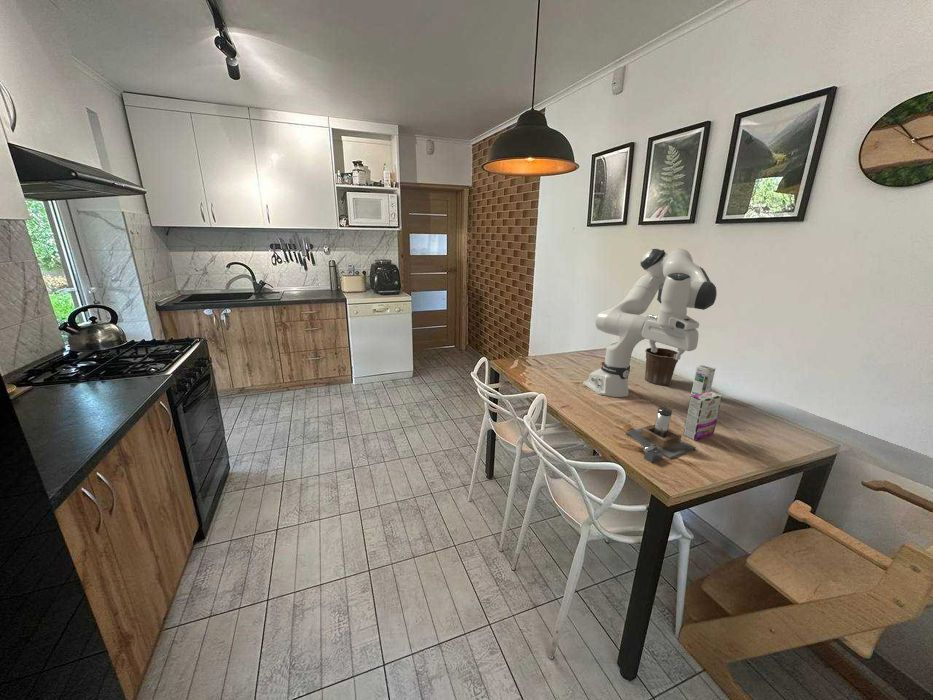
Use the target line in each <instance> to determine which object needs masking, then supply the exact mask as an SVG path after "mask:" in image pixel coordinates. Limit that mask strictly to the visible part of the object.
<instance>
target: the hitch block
mask: <svg viewBox="0 0 933 700" xmlns="http://www.w3.org/2000/svg"><path fill="white" fill-rule="evenodd" d="M654 429H655V424H650V425H647V426H643V427H639V428H636V429H635V430H636V431H637V432H638V433H639V434H640V435H641V436H642V437H643V438H644V439H645V440H646V441H648V442H649V443H650V444H651V445H650V446H652V445H656V446H657V448H658V449H660V450H661V451H663V455H662V457H663V456H664V457H665V458H667V459H668V460H670V459H673V458H675V457H679V456H682V455H684V454H686V453H689V452H693V451H694V450H696V448H697V447H695V446H694V445H692V444H689V443H688V442H686V441H684V440H681V439H682V435H683V434H680V433H678V432H676V431H674V430H672V429H670V428H669V430H668V435H667V437H665V438H662V437H660V436H659V435H657V434H655V433H654ZM625 435H626V436H628V437H630V438H632V439H633V440H634V441H637V440H636V439H635V438H634V437H633V436H632V435H631V434H630V433H628V432H627V431H626V432H625Z"/></svg>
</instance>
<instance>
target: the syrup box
mask: <svg viewBox="0 0 933 700" xmlns="http://www.w3.org/2000/svg"><path fill="white" fill-rule="evenodd" d="M715 373H716V367H712V366H709V365H706V364H701V365H698V366H696V370H695V375H694V379H693V384H692V388H691V392H690V394H691V396H693V395H697V394H701V393H705V392H709V391H710V392H711V390H712V385H713V381H714V378H715Z"/></svg>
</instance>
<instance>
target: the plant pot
mask: <svg viewBox="0 0 933 700" xmlns="http://www.w3.org/2000/svg"><path fill="white" fill-rule="evenodd" d="M657 348H658V350H657V352H655V353H654V352H651V347H648V348H646V349H645V372H644V373H645V375H644V380H645V381H647V382H648V383H650V384H652V383H653V385H658V386H663V385H665V386H668V385H670V384H671V383H672V378H673V375H674V373H675V368H676V366H677V364H678V362H679V360H675V359H673V357H674V354H677V353H678V352H679V351H676V350H673V349H669V348H663V347H657Z"/></svg>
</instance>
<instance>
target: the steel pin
mask: <svg viewBox="0 0 933 700" xmlns="http://www.w3.org/2000/svg"><path fill="white" fill-rule="evenodd" d="M672 413H673V409H671V408H669V407H666V406H665V407H664V406H659V407H658V408H657V413H656V418H655V424H654V425H655V429H654V433H655V434H657V435H659V436H660V437H662V438H665V437H667V435H668V430H669V429H670V424H671V419H672Z"/></svg>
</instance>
